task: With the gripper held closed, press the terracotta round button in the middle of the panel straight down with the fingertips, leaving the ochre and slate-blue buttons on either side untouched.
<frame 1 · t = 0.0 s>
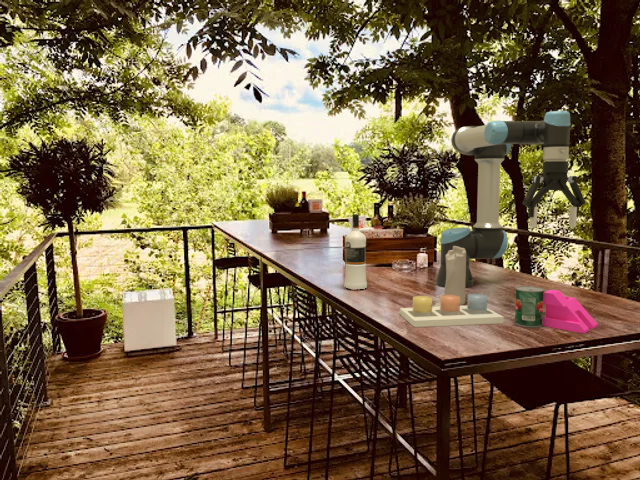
hand: (552, 227, 176), 28 cm above the table, tool pointing down, fingers open, 13 cm apart
vodka: (355, 289, 220), on the table
ochre button: (422, 304, 170), point 5 cm above the table, slide at 0.0 cm
bracket: (569, 327, 163), on the table
canned tomato: (528, 324, 165), on the table
slate-blue button: (477, 301, 173), point 5 cm above the table, slide at 0.0 cm
panel: (449, 318, 172), on the table
beige tall tapered piece: (448, 304, 192), on the table
terracotta button: (450, 303, 171), point 5 cm above the table, slide at 0.0 cm
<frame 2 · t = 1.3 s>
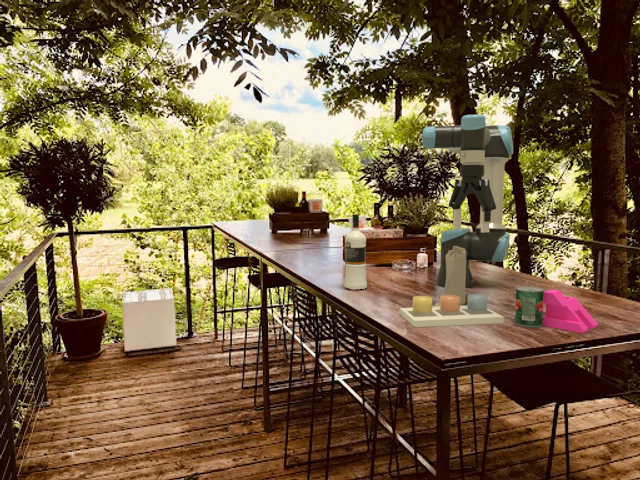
hand: (470, 230, 177), 27 cm above the table, tool pointing down, fingers open, 13 cm apart
nothing on the table moved.
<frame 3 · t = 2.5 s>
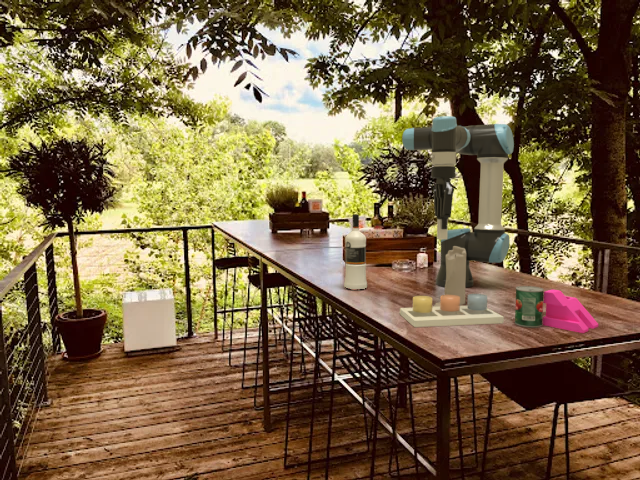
hand: (442, 238, 177), 24 cm above the table, tool pointing down, fingers closed
nothing on the table moved.
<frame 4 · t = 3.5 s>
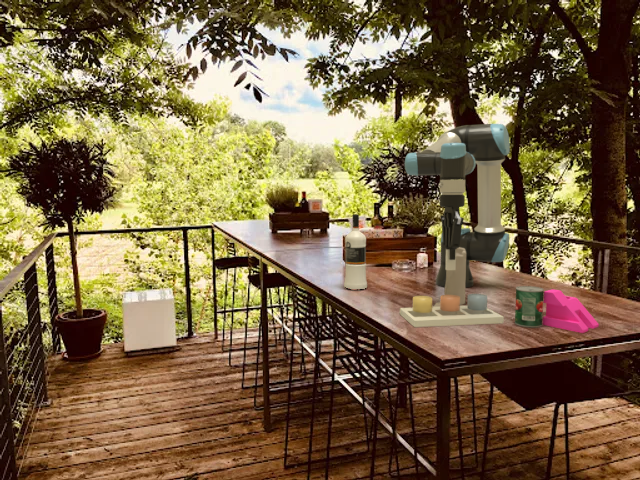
hand: (450, 269, 170), 16 cm above the table, tool pointing down, fingers closed
nothing on the table moved.
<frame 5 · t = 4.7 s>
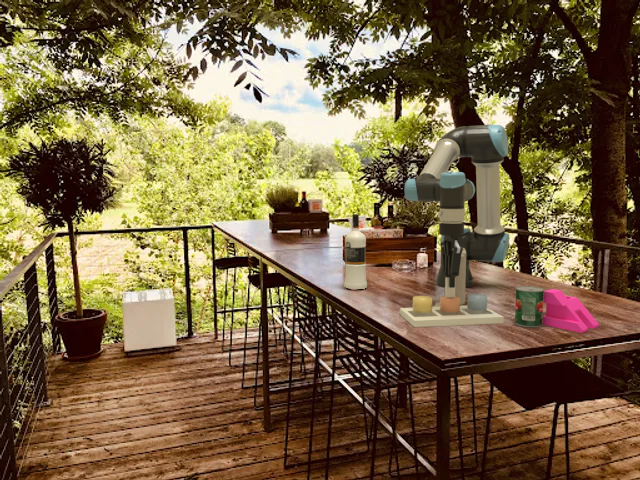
hand: (450, 297, 171), 7 cm above the table, tool pointing down, fingers closed
terracotta button: (450, 304, 172), point 5 cm above the table, slide at 0.4 cm, touching gripper
everything else where it was.
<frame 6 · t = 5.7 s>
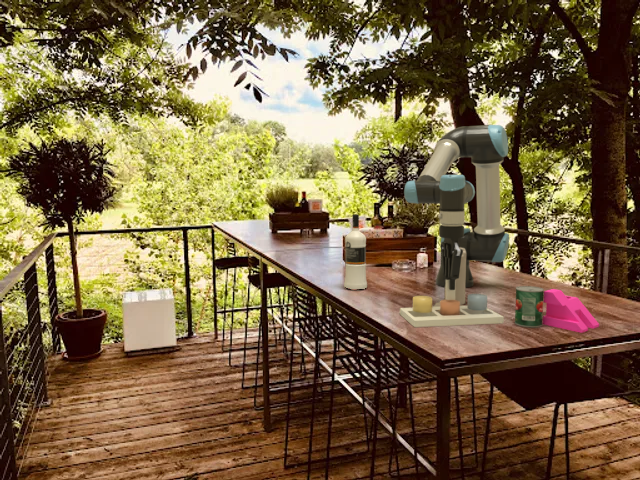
hand: (450, 299, 172), 6 cm above the table, tool pointing down, fingers closed
terracotta button: (449, 307, 172), point 3 cm above the table, slide at 1.5 cm
everything else where it was.
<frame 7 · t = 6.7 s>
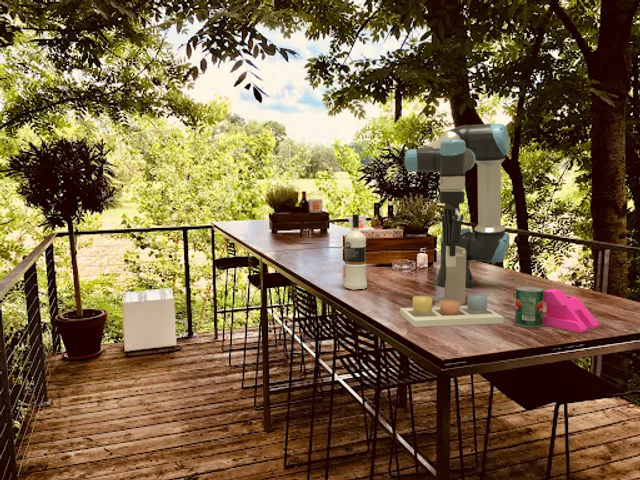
hand: (450, 266, 171), 17 cm above the table, tool pointing down, fingers closed
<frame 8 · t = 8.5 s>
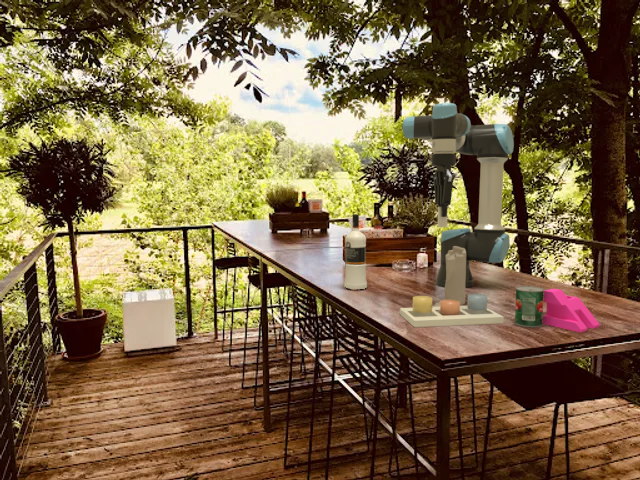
hand: (442, 226, 177), 28 cm above the table, tool pointing down, fingers closed
at the end: terracotta button slide at 1.5 cm; ochre button slide at 0.0 cm; slate-blue button slide at 0.0 cm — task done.
